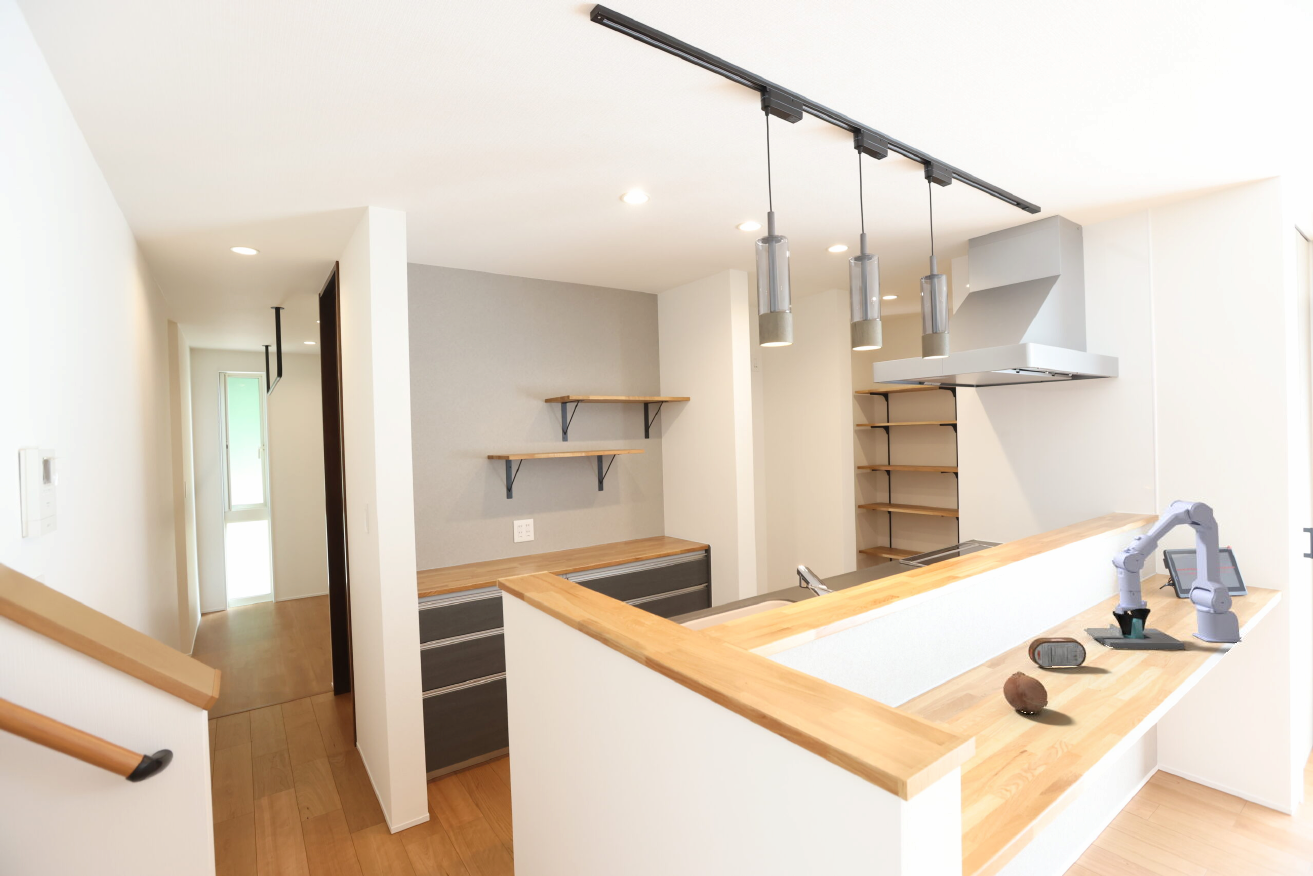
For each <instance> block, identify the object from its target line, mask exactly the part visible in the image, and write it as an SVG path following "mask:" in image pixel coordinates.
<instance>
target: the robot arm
mask: <svg viewBox="0 0 1313 876" xmlns="http://www.w3.org/2000/svg"><path fill="white" fill-rule="evenodd" d="M1179 525H1187V526H1189V527H1191V528H1192V529H1193V530H1195V531H1194V532H1195V547H1196V548H1195V550H1196V552H1195V553H1196V571H1197V572H1196V574H1197V577H1196V579H1195V580H1194V581H1193V582H1191V589H1190V591H1189V594H1188V596H1189V601H1190V602H1191V603H1192V604H1193V605H1194V608H1195V609H1196V623H1197V632H1191V635H1192V636H1194V637H1196V638H1199V639H1200V640H1203V641H1204V642H1208V643H1210V642H1215V643H1217V642H1218V643H1220V642H1221V643H1242V639H1241V637H1240V626H1239V619H1238V616H1237V615H1236V613H1235V612H1233V611H1232V610H1230V609H1231V608H1232V606H1233V600H1232V597H1231V596H1230V592H1229V588H1228V586H1227V585H1225V584H1224V583H1223V582H1222V581H1221V569H1220V568H1221V566H1220V565H1221V564H1220V563H1221V561H1220V543H1219V542H1220V541H1219V537H1220V536H1219V524H1218V522H1217V520H1216V518H1215V516H1214V508H1212V507H1211V506H1209V505H1207V504H1206V503H1204V502H1200V501H1199V502H1198V501H1197V502H1196V501H1195V502H1194V501H1186V500H1181V499H1180V500H1178V499H1177V500H1173V501H1172V502H1171V503H1170V504H1169V506H1166V507H1165V509H1164V514H1163V515H1161V517H1160V518H1159V519H1158V520H1157V522H1155V524H1154V525H1153V526H1152V527H1151V528H1150V529H1149V531H1148V532H1147V533H1145V534H1139V535H1136V536H1134V537H1133V540H1132V541H1131V543H1130V544H1129V545H1128V546H1127V547H1125V548H1123V551H1119V552H1117V553H1115V555H1114V557H1113V559H1112V560H1111V562H1112V564H1113V566H1114V568H1115V569H1116V573H1117V581H1118V593H1119V603H1118V604H1117V605H1116V606H1115V607H1114V610H1113V611H1112V615H1113V616H1114V618H1115V620H1116V621H1117V623H1118V625H1119V626H1118V627H1119V628H1121V629H1122V634H1124V635H1128V636H1130V635H1131V632H1132V622H1133V619H1140V620H1142V631H1144V628H1146V623H1147V619H1148V617H1149V614H1150V613H1151V608H1147V607H1148V601H1147V600H1143V599H1142V597H1143V596H1142V586H1141V574H1140V573H1141V572H1140V571H1141V570H1143V569H1144V566H1145V561H1146V559H1148V557H1149V556H1150V555H1151V554H1152V553H1154V552H1155V551H1156V550H1157V548H1158V547H1159V545H1158V542H1159V541H1160V540H1162V538H1163V537H1165V536H1166V535H1167V534H1168V533H1170V531H1172V530H1173V528H1175V527H1176V526H1179Z"/></svg>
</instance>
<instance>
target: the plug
mask: <svg viewBox="0 0 1313 876" xmlns="http://www.w3.org/2000/svg"><path fill="white" fill-rule="evenodd" d="M1122 636H1124V637H1125V638H1139V639H1143V631H1142V620H1140V619H1133V622H1132V632H1131V635H1130V636H1128V635H1124V634H1122Z"/></svg>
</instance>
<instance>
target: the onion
mask: <svg viewBox="0 0 1313 876" xmlns="http://www.w3.org/2000/svg"><path fill="white" fill-rule="evenodd" d="M1003 695H1004V697H1005V700H1006V701H1007V702H1008V704H1009V705H1010V706H1011V707H1012V708H1013V709H1015V710H1017V711H1019V710H1020V711H1023V712H1026V714H1027V713H1031V712H1037V711H1040V712H1041V710H1042V709H1044V708H1047V707H1048V706H1047V705H1048V703H1049V701H1048V691H1047V690H1046V688H1045V685H1044V684H1042V683H1041V682H1040V681H1039V680H1038V679H1037V678H1034V677H1033V676H1029V675H1027V674H1025V673H1024V672H1021V671H1017V672H1015V673H1012V675H1011V676H1009V677H1008V678H1007V680H1006V681H1005V682H1004V684H1003ZM1020 711H1019V712H1020ZM1023 712H1022V713H1023ZM1037 713H1038V712H1037Z"/></svg>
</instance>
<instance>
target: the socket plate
mask: <svg viewBox="0 0 1313 876" xmlns="http://www.w3.org/2000/svg"><path fill="white" fill-rule="evenodd" d="M1086 629H1110V627H1109V628H1107V627H1105V628H1103V627H1101V628H1100V627H1092V628H1091V627H1087V628H1086ZM1088 634H1089V633H1087V635H1088ZM1088 636H1090V634H1089V635H1088ZM1091 636H1092V635H1091ZM1091 636H1090V637H1091ZM1091 638H1093V639H1094V638H1095V637H1093V636H1092V637H1091ZM1096 639H1097V640H1098V642H1099V641H1100V642H1099V643H1101V642H1102V643H1103V644H1102V643H1101V644H1102V645H1104V644H1105V645H1107V646H1109V647H1113V648H1128V649H1127V650H1160V649H1185V650H1186V648H1185V642H1183V641H1181V640H1179V639H1177V638H1175V637H1174V636H1171V635H1169V634H1167V633H1165V632H1163V631H1161V630H1159V629H1158V628H1150V627H1149V628H1148V627H1147V628H1146V627H1145V628H1144V631H1143V639H1139V638H1125V637H1124V638H1095V639H1094V640H1096ZM1097 640H1096V641H1097ZM1105 645H1104V646H1105ZM1107 646H1106V647H1107Z"/></svg>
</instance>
